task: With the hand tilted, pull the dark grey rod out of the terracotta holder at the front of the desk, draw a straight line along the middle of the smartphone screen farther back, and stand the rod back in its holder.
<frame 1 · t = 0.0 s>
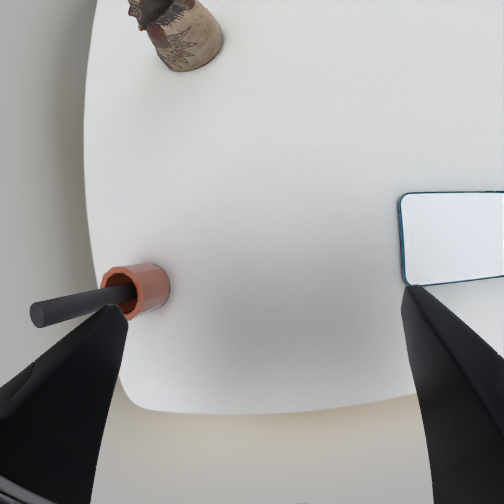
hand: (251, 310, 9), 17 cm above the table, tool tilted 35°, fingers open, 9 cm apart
stylus holder: (149, 286, 28), on the table
dark grey rod: (146, 287, 27), point 1 cm above the table, touching stylus holder
figurine: (193, 47, 26), on the table
smartphone: (474, 235, 22), on the table
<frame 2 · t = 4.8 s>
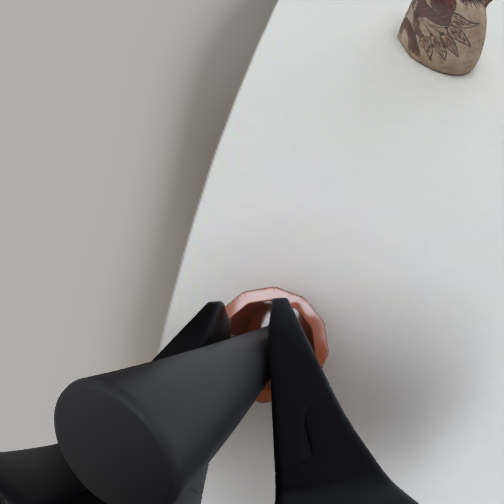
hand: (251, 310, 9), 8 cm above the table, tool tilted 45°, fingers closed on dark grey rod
stylus holder: (281, 335, 16), on the table
dark grey rod: (280, 336, 15), point 1 cm above the table, touching gripper, stylus holder
figurine: (437, 49, 17), on the table
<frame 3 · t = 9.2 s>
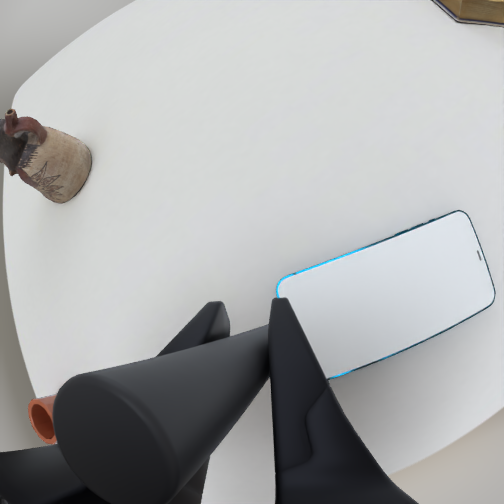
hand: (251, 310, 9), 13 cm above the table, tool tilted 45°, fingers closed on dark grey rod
stylus holder: (76, 411, 23), on the table
dark grey rod: (279, 335, 15), point 6 cm above the table, touching gripper
figurine: (71, 173, 29), on the table
smartphone: (394, 294, 20), on the table
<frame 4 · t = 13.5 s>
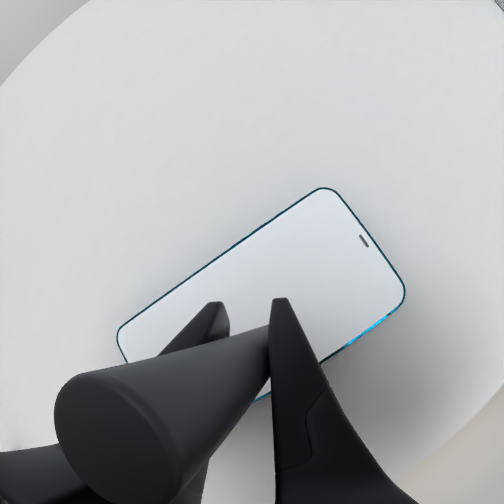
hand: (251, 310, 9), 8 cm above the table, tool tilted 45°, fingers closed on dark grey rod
dark grey rod: (280, 335, 15), point 1 cm above the table, touching gripper
smartphone: (250, 322, 17), on the table
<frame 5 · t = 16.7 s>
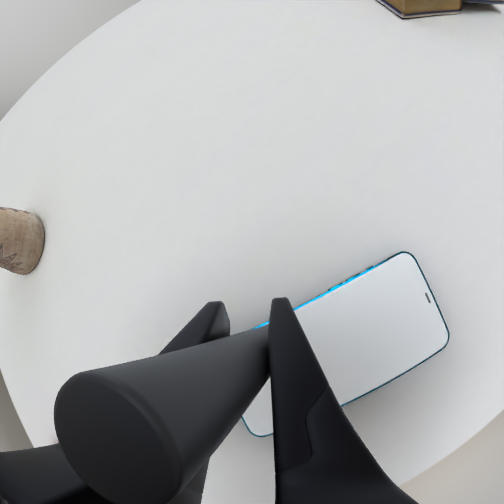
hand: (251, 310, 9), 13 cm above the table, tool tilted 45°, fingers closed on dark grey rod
dark grey rod: (280, 335, 15), point 6 cm above the table, touching gripper
figurine: (29, 244, 28), on the table
smartphone: (333, 349, 20), on the table
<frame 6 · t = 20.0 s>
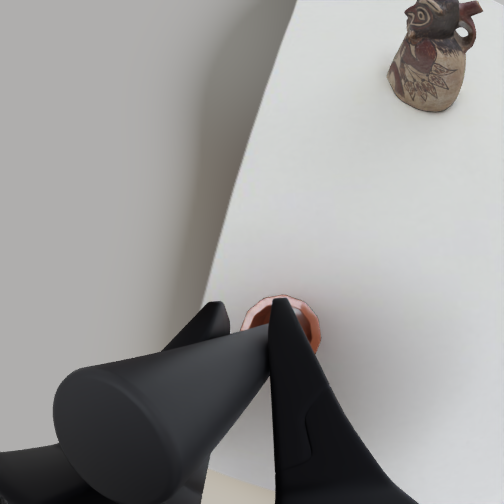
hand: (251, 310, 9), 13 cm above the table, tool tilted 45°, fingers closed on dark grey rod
stylus holder: (287, 329, 21), on the table
dark grey rod: (280, 334, 15), point 6 cm above the table, touching gripper
figurine: (421, 86, 22), on the table
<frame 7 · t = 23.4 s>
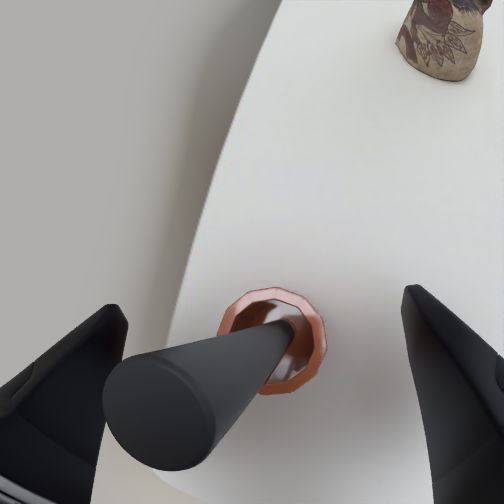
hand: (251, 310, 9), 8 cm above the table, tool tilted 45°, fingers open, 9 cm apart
stylus holder: (283, 333, 16), on the table
dark grey rod: (282, 332, 16), point 1 cm above the table, touching stylus holder
figurine: (434, 55, 18), on the table
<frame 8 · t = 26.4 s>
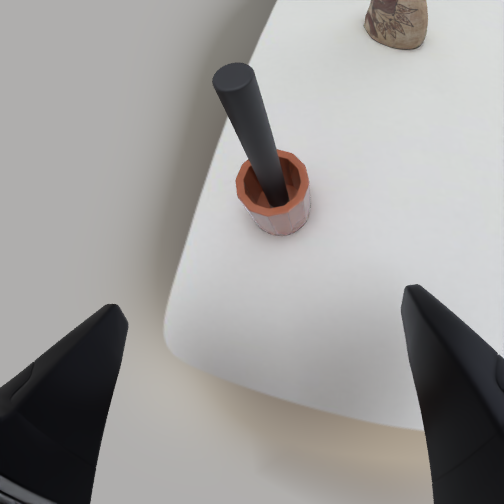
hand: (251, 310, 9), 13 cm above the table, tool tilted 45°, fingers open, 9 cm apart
stylus holder: (280, 207, 23), on the table
dark grey rod: (280, 203, 22), point 1 cm above the table, touching stylus holder
figurine: (394, 32, 24), on the table
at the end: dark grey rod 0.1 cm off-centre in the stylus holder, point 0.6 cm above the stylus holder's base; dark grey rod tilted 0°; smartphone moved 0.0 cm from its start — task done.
